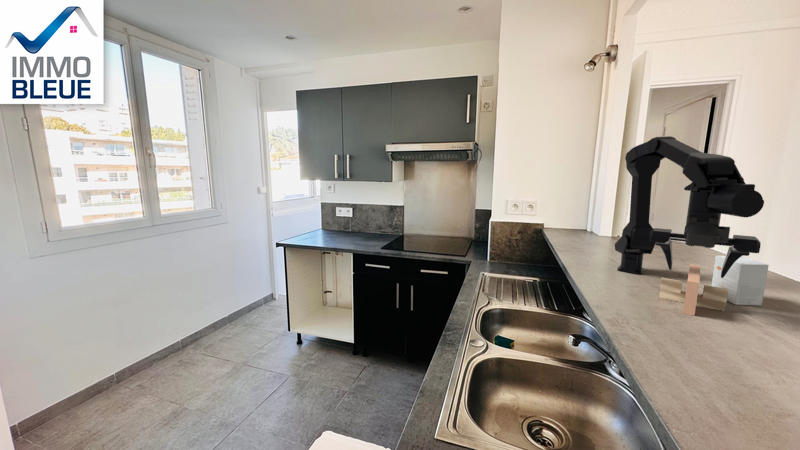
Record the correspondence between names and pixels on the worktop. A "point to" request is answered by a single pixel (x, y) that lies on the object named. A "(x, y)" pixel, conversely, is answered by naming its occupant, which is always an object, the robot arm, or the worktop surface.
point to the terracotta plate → (692, 290)
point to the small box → (742, 280)
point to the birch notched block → (709, 299)
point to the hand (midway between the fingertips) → (695, 273)
